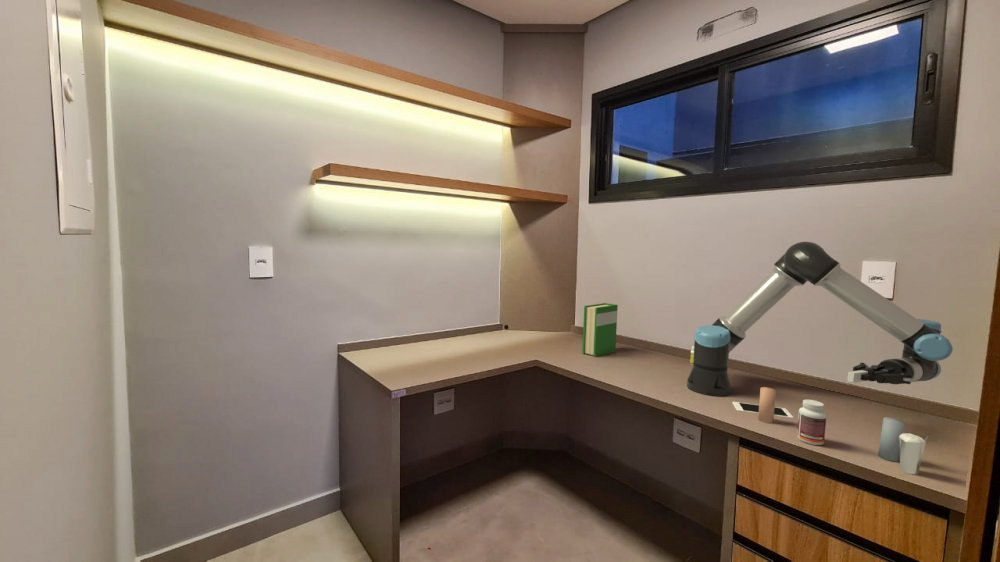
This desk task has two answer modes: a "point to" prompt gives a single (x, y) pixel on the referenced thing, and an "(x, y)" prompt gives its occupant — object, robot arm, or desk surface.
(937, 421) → the desk surface
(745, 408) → the cell phone
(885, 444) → the slate post
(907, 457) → the milkshake
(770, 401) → the terracotta post
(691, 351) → the supplement bottle
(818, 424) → the pill bottle
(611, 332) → the hardback book
